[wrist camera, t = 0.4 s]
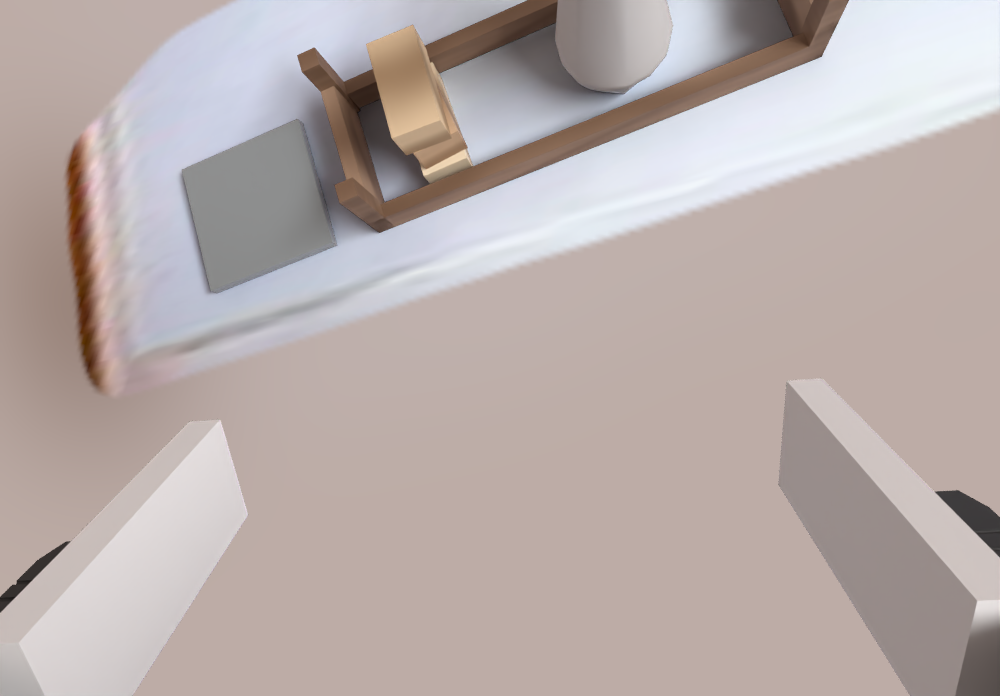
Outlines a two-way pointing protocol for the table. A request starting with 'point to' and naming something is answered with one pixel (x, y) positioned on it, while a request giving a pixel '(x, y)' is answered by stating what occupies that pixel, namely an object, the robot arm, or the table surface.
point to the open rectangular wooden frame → (812, 20)
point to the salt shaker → (612, 41)
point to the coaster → (258, 207)
